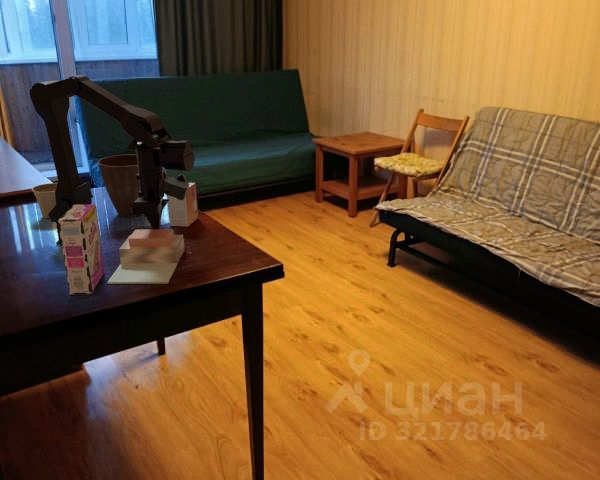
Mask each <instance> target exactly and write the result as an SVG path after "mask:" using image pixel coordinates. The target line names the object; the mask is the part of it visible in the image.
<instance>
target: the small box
mask: <svg viewBox="0 0 600 480" xmlns="http://www.w3.org/2000/svg"><path fill="white" fill-rule="evenodd" d="M196 184H197V183H196V182H189V188H188V191H187V195H186V197H185V198H184V200H178V199H177V198H175V197H172V196H169V195H166V199H169V201H168V203H167V212H168V221H169V226H170V227H172V226H173V227H190V226H191V224H192V223H194V222H195V221H196V220H197V219H199V210H198V198H197V197H198V195H197V185H196Z"/></svg>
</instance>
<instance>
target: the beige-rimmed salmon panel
mask: <svg viewBox="0 0 600 480" xmlns="http://www.w3.org/2000/svg"><path fill="white" fill-rule="evenodd" d="M130 235H131V236H130ZM130 235H129V236H130V237H129V236H128V237H129V246H130V247H152V246H169V244H170V243H171V241H172V239H173V238H174V235H175V234H174V229H173V228H172V229H171V228H168V229H165V228H164V229H161V228H160V229H153V228H152V229H150V228H149V229H134V231H133V232H132V233H131V234H130Z"/></svg>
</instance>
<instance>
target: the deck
mask: <svg viewBox="0 0 600 480" xmlns="http://www.w3.org/2000/svg"><path fill="white" fill-rule="evenodd" d="M131 235H132V234H130V235H129V236H128V237H127V238H126V239H125V241H124V242H123V244H121V246H120V247H119V249H118V252H119V259H120V261H119V262H120V264H127V263H177V265H178V264H179V262H180V260H181V258H182V255H183V254H184V253H185V241H184V234H173V235H174V238H173V239H172V241H171V243H170V244H169V246H152V247H130V246H129V237H130V236H131Z"/></svg>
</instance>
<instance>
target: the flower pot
mask: <svg viewBox="0 0 600 480" xmlns="http://www.w3.org/2000/svg"><path fill="white" fill-rule="evenodd" d="M57 183H58V182H50V183H44V184H39V185H36V186H33V187H32V188H31V191H32V192H33V194H34V196H35V197H36V201H37V204H38V206H39V210H40V213H41V217H42V218H44V219H50V218H49V216H48V214H49V213H50V211H51V210H52V209H53V208H54V206H55V205H56V201H55V191H56V187H57Z"/></svg>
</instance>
